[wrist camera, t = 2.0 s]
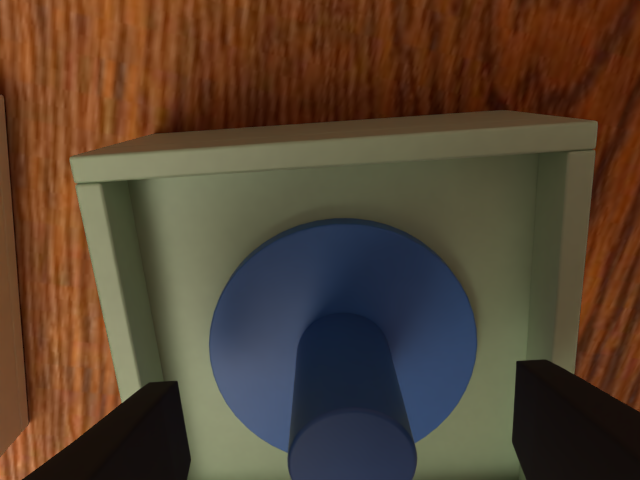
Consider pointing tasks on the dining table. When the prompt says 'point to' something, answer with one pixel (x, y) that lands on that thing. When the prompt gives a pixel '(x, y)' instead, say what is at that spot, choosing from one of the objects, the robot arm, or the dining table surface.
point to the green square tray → (343, 202)
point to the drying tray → (9, 313)
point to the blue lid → (343, 347)
